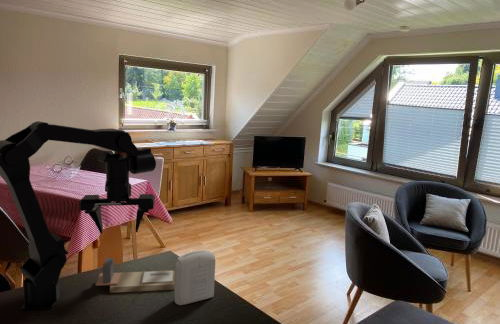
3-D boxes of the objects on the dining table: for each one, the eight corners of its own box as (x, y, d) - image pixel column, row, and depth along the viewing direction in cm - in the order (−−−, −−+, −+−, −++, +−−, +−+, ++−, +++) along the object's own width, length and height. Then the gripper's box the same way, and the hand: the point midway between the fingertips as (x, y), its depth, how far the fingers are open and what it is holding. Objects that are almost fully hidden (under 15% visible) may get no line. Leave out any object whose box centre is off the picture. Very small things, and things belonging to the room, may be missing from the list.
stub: (95, 285, 96) (95, 267, 95) (100, 274, 102) (99, 257, 101) (117, 284, 97) (117, 266, 96) (120, 273, 103) (120, 256, 102)
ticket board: (109, 292, 96) (109, 285, 96) (114, 277, 104) (114, 271, 103) (174, 289, 99) (174, 282, 99) (174, 275, 107) (174, 268, 106)
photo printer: (208, 289, 100) (210, 245, 98) (216, 297, 96) (218, 251, 94) (171, 299, 94) (172, 252, 92) (178, 308, 91) (179, 259, 88)
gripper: (156, 170, 110) (156, 221, 113) (88, 170, 107) (90, 223, 110) (152, 179, 99) (153, 235, 102) (77, 179, 96) (80, 237, 99)
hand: (119, 232), depth 103 cm, fingers open, 9 cm apart
